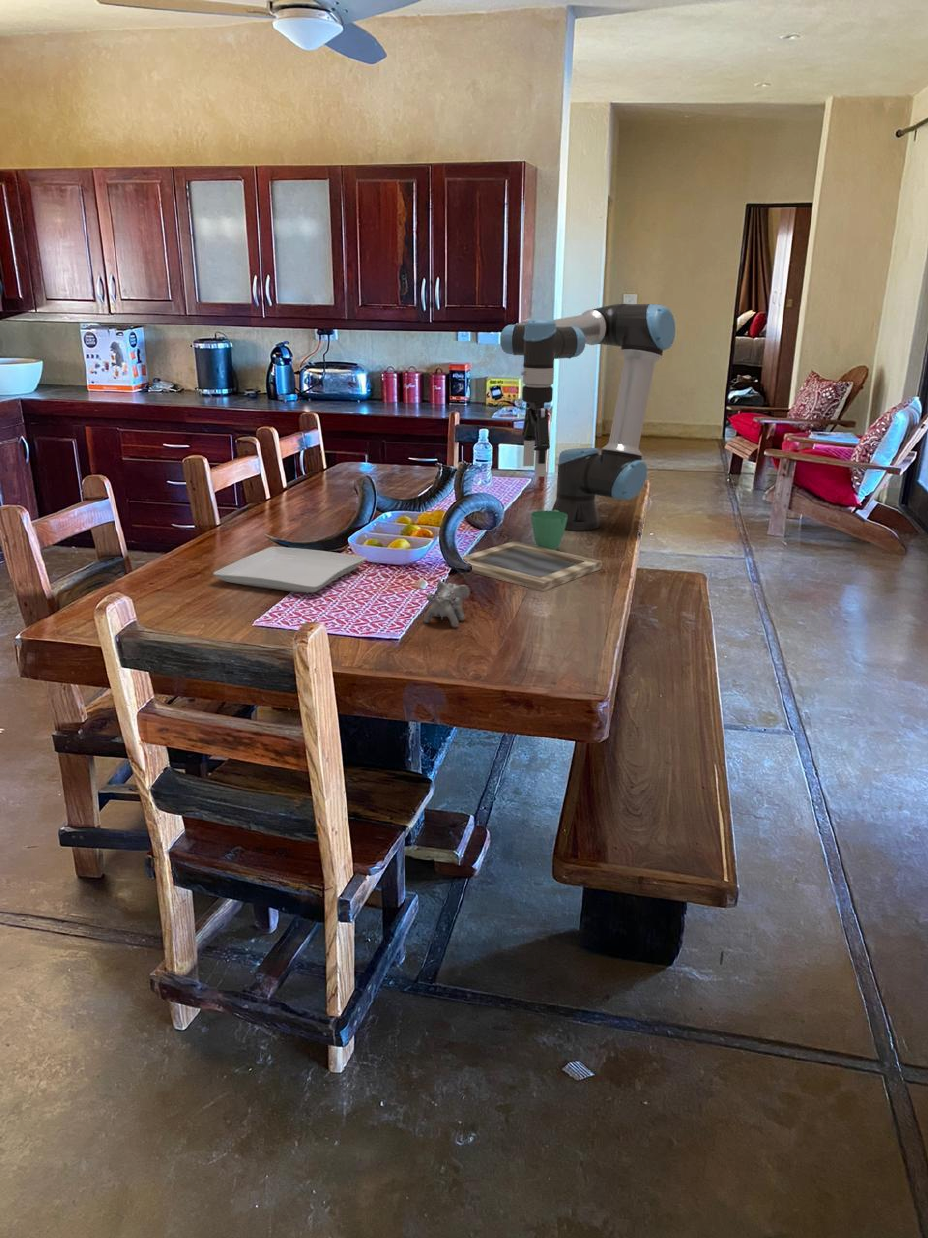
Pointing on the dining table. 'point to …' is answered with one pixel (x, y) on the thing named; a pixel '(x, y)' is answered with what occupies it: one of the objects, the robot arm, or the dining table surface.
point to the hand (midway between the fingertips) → (534, 471)
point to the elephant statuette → (447, 603)
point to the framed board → (530, 565)
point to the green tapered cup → (548, 528)
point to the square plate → (290, 569)
